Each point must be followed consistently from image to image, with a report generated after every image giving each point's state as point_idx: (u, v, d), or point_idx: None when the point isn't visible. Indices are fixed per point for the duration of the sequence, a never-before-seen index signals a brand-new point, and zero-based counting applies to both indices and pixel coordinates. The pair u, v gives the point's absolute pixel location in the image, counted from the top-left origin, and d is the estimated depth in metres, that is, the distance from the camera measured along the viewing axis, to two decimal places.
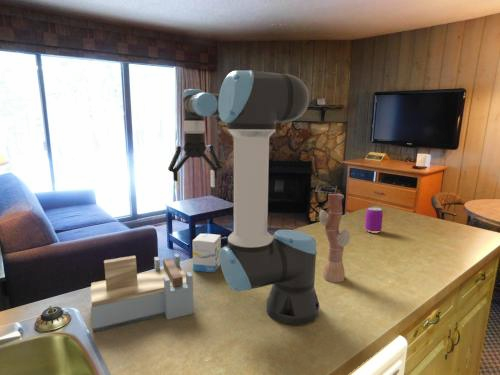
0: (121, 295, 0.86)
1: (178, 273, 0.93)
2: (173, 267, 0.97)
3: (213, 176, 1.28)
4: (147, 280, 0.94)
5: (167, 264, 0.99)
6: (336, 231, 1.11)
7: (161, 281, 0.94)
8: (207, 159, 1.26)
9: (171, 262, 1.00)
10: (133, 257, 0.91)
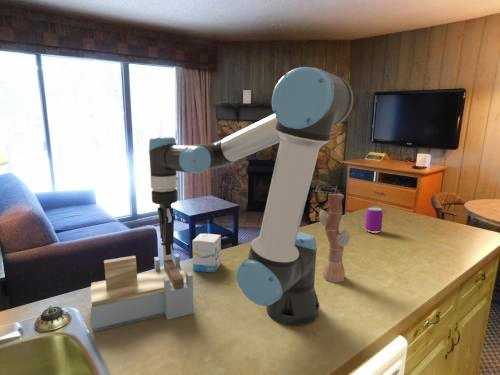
0: (121, 295, 0.86)
1: (179, 275, 0.92)
2: (174, 268, 0.96)
3: (163, 250, 1.01)
4: (147, 280, 0.94)
5: (168, 265, 0.98)
6: (336, 231, 1.11)
7: (161, 281, 0.94)
8: (163, 227, 0.99)
9: (172, 264, 0.99)
10: (133, 257, 0.91)
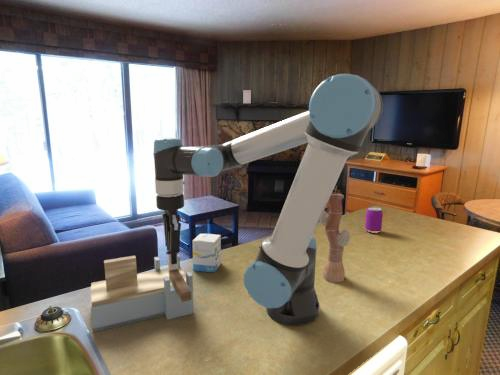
0: (121, 295, 0.86)
1: (186, 287, 0.85)
2: (180, 280, 0.89)
3: (168, 260, 0.94)
4: (147, 280, 0.94)
5: (174, 276, 0.91)
6: (336, 231, 1.11)
7: (161, 281, 0.94)
8: (168, 234, 0.92)
9: (178, 274, 0.92)
10: (133, 257, 0.91)
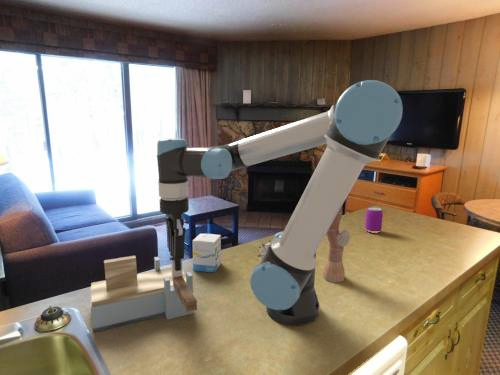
0: (121, 295, 0.86)
1: (191, 295, 0.81)
2: (185, 287, 0.85)
3: (172, 266, 0.90)
4: (147, 280, 0.94)
5: (178, 284, 0.87)
6: (336, 231, 1.11)
7: (161, 281, 0.94)
8: (172, 240, 0.88)
9: (183, 281, 0.88)
10: (133, 257, 0.91)
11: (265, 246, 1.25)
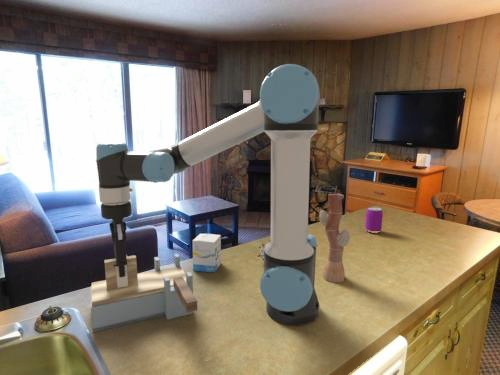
0: (121, 295, 0.86)
1: (192, 296, 0.81)
2: (185, 288, 0.84)
3: None
4: (148, 280, 0.94)
5: (178, 284, 0.86)
6: (336, 231, 1.11)
7: (161, 281, 0.94)
8: None
9: (183, 282, 0.88)
10: (133, 257, 0.91)
11: None
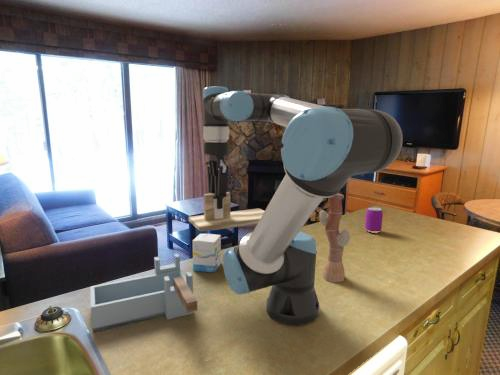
0: (221, 223, 0.97)
1: (192, 296, 0.81)
2: (185, 288, 0.84)
3: (214, 205, 1.00)
4: (237, 215, 1.05)
5: (178, 284, 0.86)
6: (336, 231, 1.11)
7: (250, 216, 1.05)
8: (215, 179, 0.98)
9: (183, 282, 0.88)
10: (227, 192, 1.02)
11: None
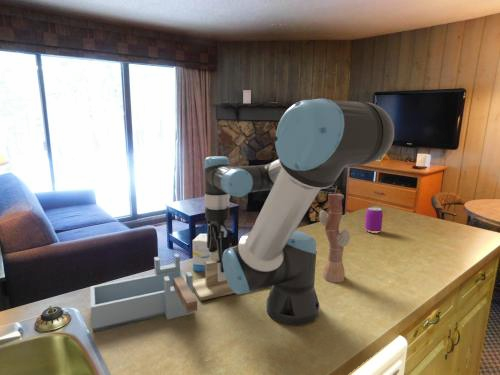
0: (222, 291, 1.02)
1: (192, 296, 0.81)
2: (185, 288, 0.84)
3: (218, 268, 1.01)
4: None
5: (178, 284, 0.86)
6: (336, 231, 1.11)
7: None
8: (217, 244, 1.00)
9: (183, 282, 0.88)
10: None
11: None
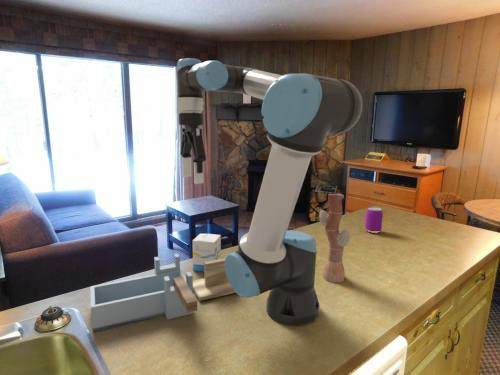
0: (221, 291, 1.02)
1: (192, 296, 0.81)
2: (185, 288, 0.84)
3: (194, 169, 0.99)
4: None
5: (178, 284, 0.86)
6: (336, 231, 1.11)
7: None
8: (192, 146, 0.99)
9: (183, 282, 0.88)
10: None
11: None
